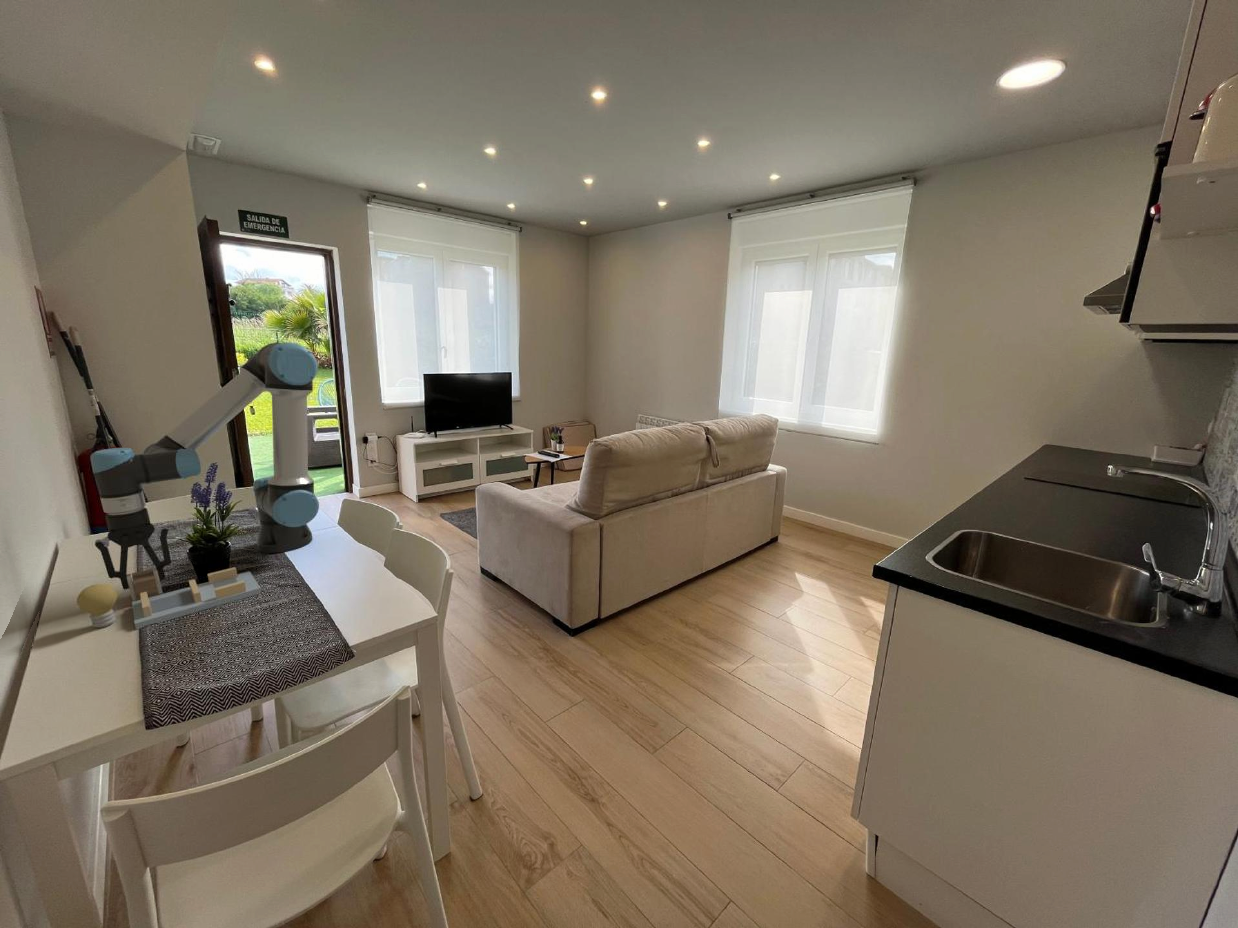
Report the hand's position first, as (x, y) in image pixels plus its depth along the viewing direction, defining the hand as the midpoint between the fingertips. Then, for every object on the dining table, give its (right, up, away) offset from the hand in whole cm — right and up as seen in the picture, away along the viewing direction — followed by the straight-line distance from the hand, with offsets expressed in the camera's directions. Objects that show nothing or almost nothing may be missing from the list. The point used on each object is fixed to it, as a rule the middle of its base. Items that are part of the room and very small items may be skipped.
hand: (147, 595), depth 128 cm
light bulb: (+2, -4, -13) cm, 14 cm away
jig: (+15, -1, -2) cm, 15 cm away
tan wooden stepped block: (0, 0, 0) cm, 0 cm away
